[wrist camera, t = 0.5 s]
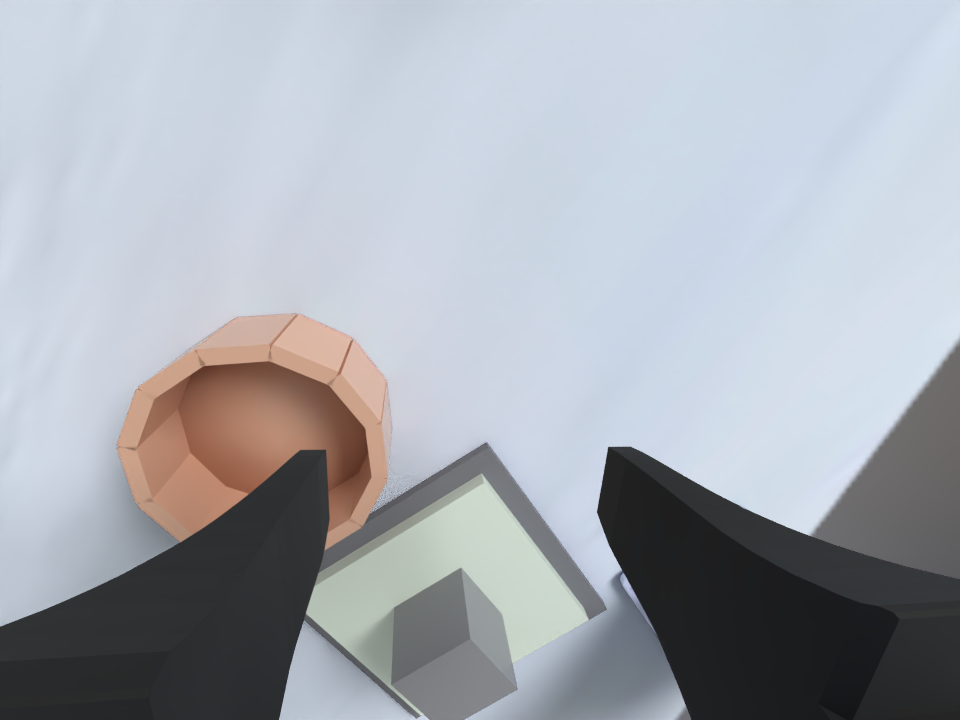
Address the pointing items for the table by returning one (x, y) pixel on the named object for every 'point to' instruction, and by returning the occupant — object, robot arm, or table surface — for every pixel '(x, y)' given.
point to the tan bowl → (257, 423)
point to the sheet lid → (447, 603)
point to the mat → (439, 487)
